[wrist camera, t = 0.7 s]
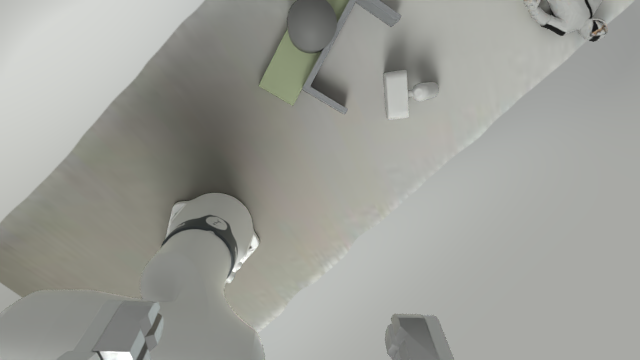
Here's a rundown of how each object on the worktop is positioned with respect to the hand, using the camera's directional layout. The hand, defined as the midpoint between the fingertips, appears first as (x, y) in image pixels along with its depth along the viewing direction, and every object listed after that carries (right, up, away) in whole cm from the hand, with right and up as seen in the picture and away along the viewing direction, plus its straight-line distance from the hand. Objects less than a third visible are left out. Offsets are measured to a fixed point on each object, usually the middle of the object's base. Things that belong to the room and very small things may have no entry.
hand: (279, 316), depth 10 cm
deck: (+4, +30, +44) cm, 54 cm away
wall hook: (+18, +22, +48) cm, 56 cm away
